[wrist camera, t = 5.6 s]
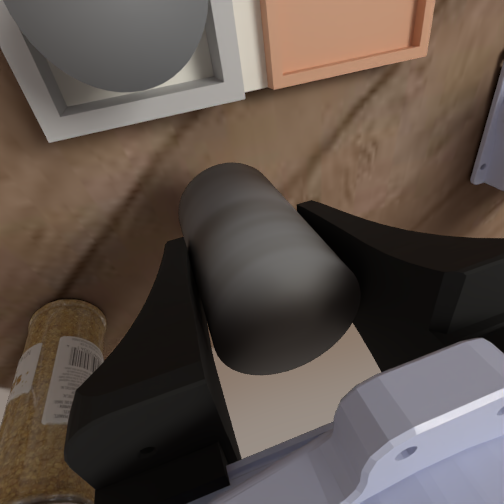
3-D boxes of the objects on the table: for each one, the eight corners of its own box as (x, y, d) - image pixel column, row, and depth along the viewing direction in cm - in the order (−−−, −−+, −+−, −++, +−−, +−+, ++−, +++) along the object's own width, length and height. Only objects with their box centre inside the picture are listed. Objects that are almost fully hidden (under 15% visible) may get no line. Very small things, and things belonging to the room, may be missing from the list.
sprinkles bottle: (14, 310, 20) (-103, 622, 10) (89, 286, 21) (56, 553, 10) (53, 355, 23) (-5, 635, 13) (119, 332, 24) (115, 579, 13)
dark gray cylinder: (278, 237, 16) (356, 345, 11) (192, 263, 16) (228, 392, 10) (269, 151, 14) (365, 236, 8) (165, 177, 13) (195, 290, 8)
